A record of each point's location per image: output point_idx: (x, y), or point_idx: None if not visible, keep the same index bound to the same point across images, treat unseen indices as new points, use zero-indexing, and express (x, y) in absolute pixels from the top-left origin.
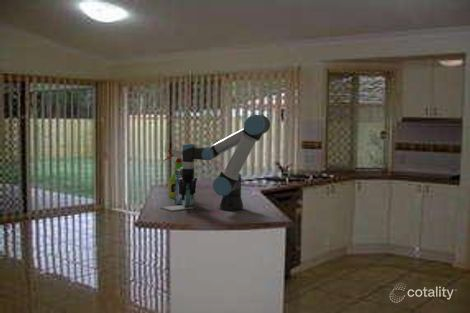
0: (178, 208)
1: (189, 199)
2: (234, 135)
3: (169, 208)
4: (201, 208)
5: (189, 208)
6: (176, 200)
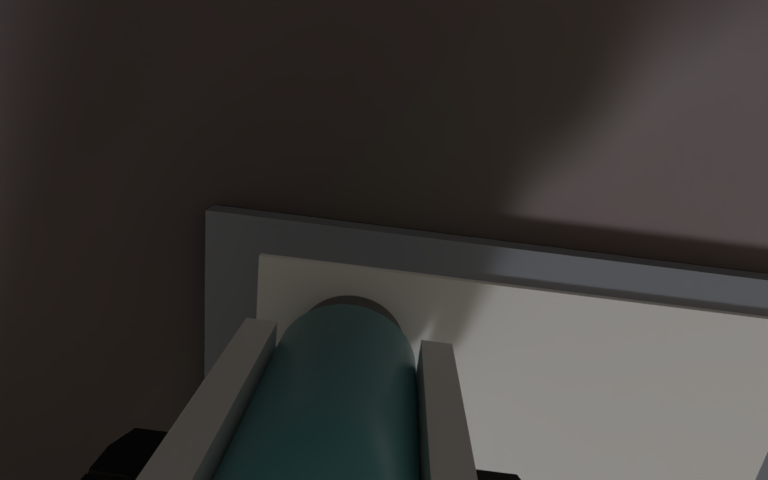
0: (588, 364)
1: (283, 412)
2: None
3: (720, 472)
4: (55, 150)
5: (366, 240)
6: None
